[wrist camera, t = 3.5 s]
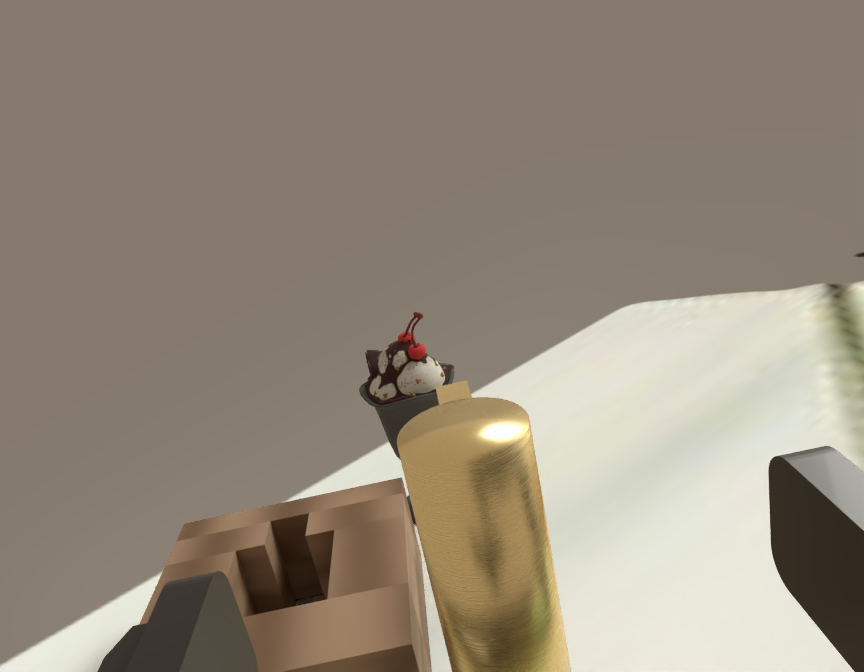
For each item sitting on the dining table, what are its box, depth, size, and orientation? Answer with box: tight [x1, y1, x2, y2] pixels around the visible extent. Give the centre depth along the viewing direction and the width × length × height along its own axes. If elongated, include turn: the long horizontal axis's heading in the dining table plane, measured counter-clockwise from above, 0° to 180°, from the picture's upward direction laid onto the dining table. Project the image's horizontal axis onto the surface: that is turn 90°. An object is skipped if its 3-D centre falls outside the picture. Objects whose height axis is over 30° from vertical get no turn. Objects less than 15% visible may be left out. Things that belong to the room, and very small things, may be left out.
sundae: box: [360, 312, 454, 522], centre depth 48 cm, size 7×7×15 cm
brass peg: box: [397, 381, 571, 672], centre depth 27 cm, size 4×6×18 cm
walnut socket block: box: [139, 478, 432, 672], centre depth 38 cm, size 14×14×6 cm
